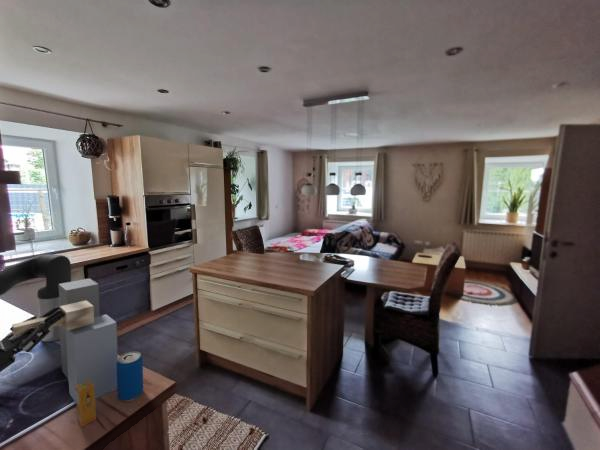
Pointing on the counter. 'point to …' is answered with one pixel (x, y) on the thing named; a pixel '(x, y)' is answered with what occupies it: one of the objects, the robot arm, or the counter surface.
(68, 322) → the mallet
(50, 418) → the counter surface
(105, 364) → the grey tall block
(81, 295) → the tall tower
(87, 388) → the supplement box
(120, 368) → the beverage can
